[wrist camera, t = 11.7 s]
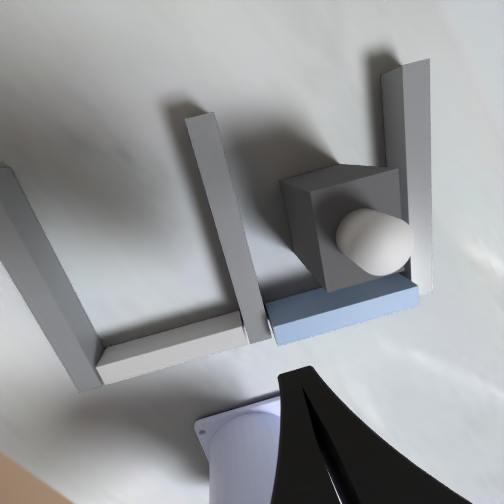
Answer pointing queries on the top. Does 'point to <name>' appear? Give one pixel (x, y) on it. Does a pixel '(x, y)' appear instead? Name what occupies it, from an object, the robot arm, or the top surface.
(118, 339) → the top surface
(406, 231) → the cord connector
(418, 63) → the cable duct
